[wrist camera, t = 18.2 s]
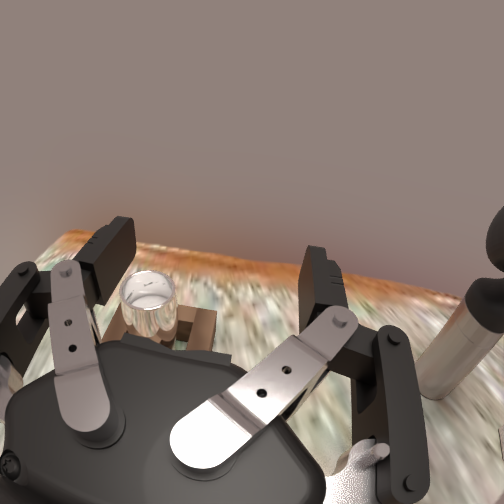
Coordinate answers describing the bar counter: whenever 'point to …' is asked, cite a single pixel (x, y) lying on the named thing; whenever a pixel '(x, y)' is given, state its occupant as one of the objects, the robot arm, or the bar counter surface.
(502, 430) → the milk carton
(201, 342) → the walnut well block
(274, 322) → the bar counter surface
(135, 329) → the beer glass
